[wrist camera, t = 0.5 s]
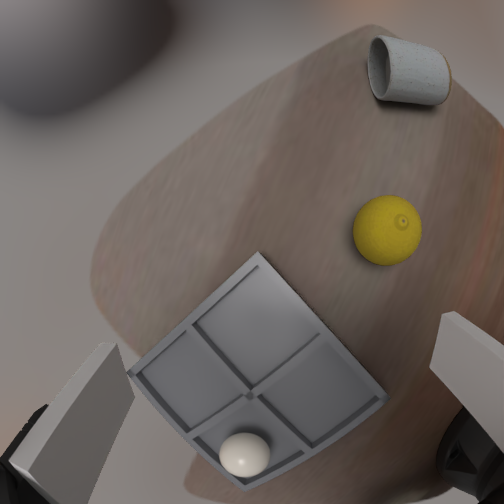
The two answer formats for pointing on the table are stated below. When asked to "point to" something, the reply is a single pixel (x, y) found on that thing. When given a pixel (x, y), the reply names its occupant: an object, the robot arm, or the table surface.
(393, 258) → the lemon
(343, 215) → the table surface
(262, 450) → the cream egg
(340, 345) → the compartment tray
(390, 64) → the ceramic mug
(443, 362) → the robot arm
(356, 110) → the table surface
